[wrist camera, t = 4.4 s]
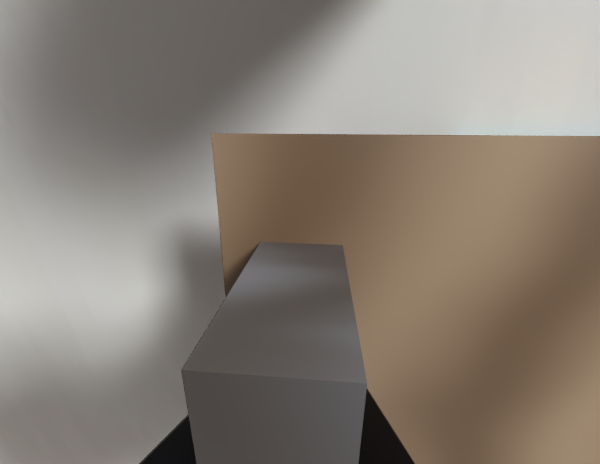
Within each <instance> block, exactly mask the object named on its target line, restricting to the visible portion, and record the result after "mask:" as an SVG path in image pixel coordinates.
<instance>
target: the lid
mask: <svg viewBox="0 0 600 464" xmlns="http://www.w3.org/2000/svg"><path fill="white" fill-rule="evenodd" d="M211 136H212V147H213V158H214V170H215V181H216V192H217V204H218V215H219V226H220V238H221V249H222V260H223V272H224V283H225V294H226V298H225V300H224V302H223V303H222V305H221V307H220V308H219V310H218V311H217V313H216V315H215V316H214V318H213V319H212V321H211V323H210V324H209V326H208V328H207V329H206V331H205V332H204V334H203V336H202V337H201V339H200V340H199V342H198V344H197V345H196V347H195V349H194V350H193V352H192V353H191V355H190V357H189V358H188V360H187V362H186V363H185V365H184V366H183V368H182V370H181V371H182V377H183V384H184V390H185V396H186V402H187V408H188V414H189V421H190V427H191V433H192V439H193V445H194V451H195V458H196V464H358V463H359V454H360V445H361V436H362V427H363V417H364V408H365V399H366V390H367V389H368V390H369V392H370V393H371V395H372V397H373V398H374V400H375V401H376V403H377V405H378V406H379V408H380V409H381V411H382V412H383V414H384V416H385V417H386V419H387V420H388V422H389V423H390V425H391V427H392V428H393V430H394V431H395V433H396V434H397V436H398V438H399V439H400V441H401V442H402V444H403V445H404V447H405V449H406V450H407V452H408V453H409V455H410V456H411V458H412V460H413V461H414V463H415V464H600V136H491V135H347V134H211Z"/></svg>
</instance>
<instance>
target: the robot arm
mask: <svg viewBox="0 0 600 464" xmlns="http://www.w3.org/2000/svg"><path fill="white" fill-rule="evenodd" d="M139 464H196V458H195V451H194V445H193V439H192V433H191V427H190V421H189V414H188V415H187V416H186V417H185V418H184V419H183V420H182V421H181V422H180V423H179V424H178V425H177V426H176V427H175V428H174V429H173V430H172V431H171V432H170V433H169V434H168V435H167V436H166V437H165V438H164V439H163V440H162V441H161V442H160V443H159V444H158V445H157V446H156V447H155V448H154V449H153V450H152V451H151V452H150V453H149V454H148V455H147V456H146V457H145V458H144V459H143V460H142V461H141V462H140V463H139ZM358 464H415V463H414V461H413V460H412V458H411V456H410V455H409V453H408V452H407V450H406V449H405V447H404V445H403V444H402V442H401V441H400V439H399V438H398V436H397V434H396V433H395V431H394V430H393V428H392V427H391V425H390V423H389V422H388V420H387V419H386V417H385V416H384V414H383V412H382V411H381V409H380V408H379V406H378V405H377V403H376V401H375V400H374V398H373V397H372V395H371V393H370V392H369V390H368V389H367V390H366V399H365V408H364V417H363V427H362V436H361V445H360V454H359V463H358Z"/></svg>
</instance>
